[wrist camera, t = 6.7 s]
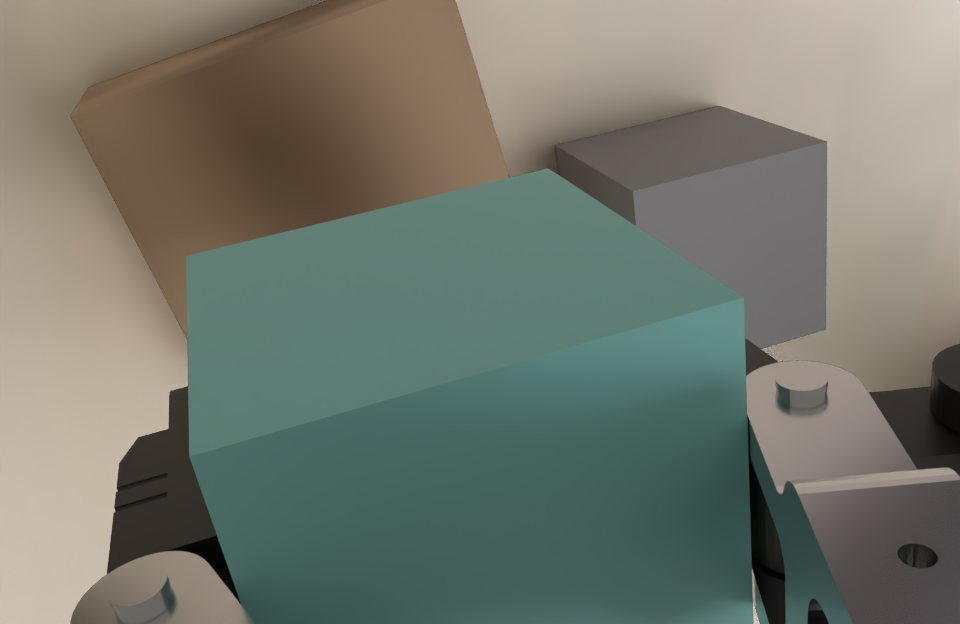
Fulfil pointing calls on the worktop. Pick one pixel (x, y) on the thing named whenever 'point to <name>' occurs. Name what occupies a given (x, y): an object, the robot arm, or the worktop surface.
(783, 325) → the charcoal cube
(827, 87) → the worktop surface
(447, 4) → the brown square block
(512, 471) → the teal cube
